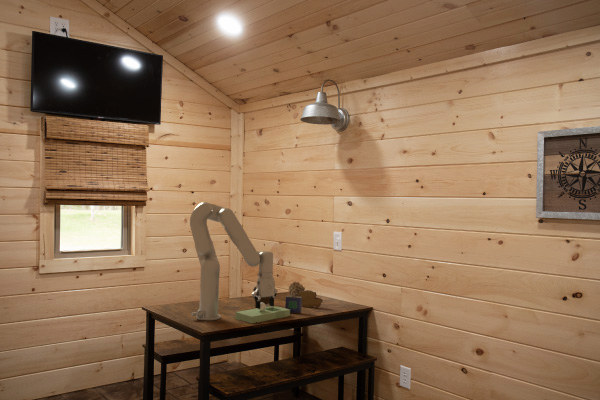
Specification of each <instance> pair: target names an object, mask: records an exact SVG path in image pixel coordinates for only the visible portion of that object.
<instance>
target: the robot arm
mask: <svg viewBox="0 0 600 400" xmlns="http://www.w3.org/2000/svg"><path fill="white" fill-rule="evenodd" d="M208 220H210V221H213V222H216V223H220V224H221V226H222V228H223V229H224V231H225V232H226V234H227V236H228V238H229V239H230V240H231V242H232V243H233V244H234V246H235V247H236V248H237V250H238V251H239V254H241V256H242V257H243V259H244V262H245V263H246V264H247V266H249V267H257V266H258V273H257V276H258V277H257V280H256V285H255V287H256V290H255V291H253V292H252V293H251V295H252V298H253V300H254V303H255V301H256V303H255V305H254V306H255V308H254V309H260V299H261V297H270V298H269V305H268V306H275V299H276V297H277V295H278V292H279V289H277V288H276V284H275V277H273V276H274V275H273V273H274V253H273V252H272V251H267V250H264V251H258V250H257V249H256V247H255V246H254V244H253V243H252V241H251V240H250V238H249V236H248V234H247V232H246V230H245V229H244V228H243V226H242V224H241V222H240V221H239V219H238V217H237V216H236V214H235V212H234V211H233V210H232V209H231V208H228V207H224V206H220V205H217V204H212V203H210V202H208V201H202V202H200V203H198V204H197V206H196V207H195V208H194V209H193V211H192V212H191V214H190V217H189V227H190V231H191V235H192V239H193V242H194V249H195V251H196V254H197V258H198V261H199V264H200V277H199V278H200V282H199V283H200V284H199V285H200V286H199V308H198V309H197V311H193V312H191V314H190V316H191V317H195V318H196V320H199V321H216V320H217V321H218V320H220V319H221V318H222V316H221V314H220V313H219V295H220V287H219V286H220V275H221V274H220V271H221V264H220V261H219V258H218V256H217V254H216V249H215V247H214V246H215V245H214V241H213V240H212V238H211V234H210V231H209V228H208V227H209V226H208ZM258 297H259V298H258Z"/></svg>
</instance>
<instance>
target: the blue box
mask: <svg viewBox="0 0 600 400" xmlns="http://www.w3.org/2000/svg"><path fill="white" fill-rule="evenodd" d="M284 304H285V305H284V308H285V309H289V310H290V314H302V308H303V306H302V297H295V294H293V295H291V294H290V295H286V296H285V303H284Z"/></svg>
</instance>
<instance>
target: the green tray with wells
mask: <svg viewBox="0 0 600 400" xmlns="http://www.w3.org/2000/svg"><path fill="white" fill-rule="evenodd" d="M234 315H235V317H234V318H235V320H238V321H242V322H246V323H248V324H257V323H261V322H262V323H263V322H265V321H271V320H272V321H273V320H276V319H282V318H287V317H291V313H290V310H289V309H285V307H280V306H276V305H274V306H270V305H268V307H266V309H265V310H264V311H259V310H258V309H257V308H251V309H246V310H240V311H235V314H234ZM256 322H257V323H256Z"/></svg>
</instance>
